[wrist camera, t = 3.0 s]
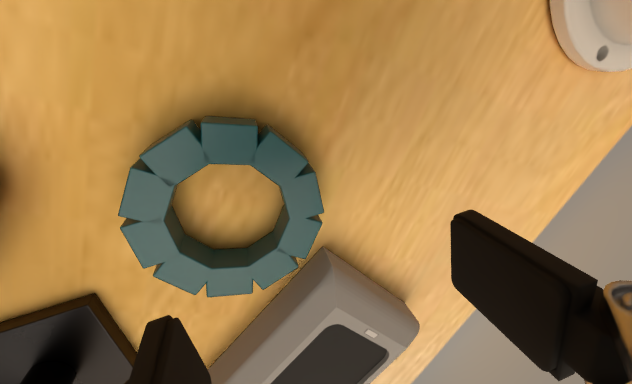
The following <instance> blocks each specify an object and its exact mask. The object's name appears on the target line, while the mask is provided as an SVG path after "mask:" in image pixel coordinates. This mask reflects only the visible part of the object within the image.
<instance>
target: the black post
mask: <svg viewBox="0 0 632 384" xmlns="http://www.w3.org/2000/svg"><path fill="white" fill-rule="evenodd" d="M136 356H137V353H136V352H135V350H134V349H133V348H132V346H131V345H130V343H129V342H128V340H127V339H126V338H125V336H124V335H123V333H122V332H121V330H120V329H119V327H118V326H117V325H116V323H115V322H114V320H113V319H112V317H111V316H110V315H109V313H108V312H107V310H106V309H105V307H104V306H103V305H102V303H101V302H100V300H99V299H98V297H97V296H96V294H91V295H88V296H85V297H82V298H78V299H75V300H72V301H69V302H66V303H62V304H59V305H56V306H53V307H50V308H46V309H43V310H40V311H37V312H34V313H30V314H27V315H24V316H21V317H18V318H15V319H11V320H8V321H5V322H2V323H0V384H124V383H125V382H126V381H127V380H129V378H130V375H131V372H132V368H133V365H134V362H135V359H136Z"/></svg>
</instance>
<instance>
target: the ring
mask: <svg viewBox="0 0 632 384" xmlns="http://www.w3.org/2000/svg"><path fill="white" fill-rule="evenodd" d="M200 125H201V130H200V129H199V127H198V126H197V125H196V124H195V122H194V121H193V120H189V121H188V122H186V123H184V124H183V125H181V126H180V127H178V128H177V129H175V130H174V131H172V132H170V133H169V134H167V135H166V136H164V137H163V138H161V139H160V140H158V141H156V142H155V143H153V144H152V145H150V146H149V147H148V148H147V149H146V150H145V151H144V152H143V153H142V154H141V155H140V156H139V157H140V159H139V160H138V161H137V162H136V163H135V164H134V165H133V166H132V167H131V168H130V171H129V175H128V179H127V182H126V186H125V190H124V194H123V198H122V202H121V206H120V209H119V213H118V216H121V217H125V218H126V220H125V221H124V223H123V224H122V225H121V227H120V229H121V231H122V232H123V234H124V236H125V238H126V239H127V241H128V243H129V245H130V246H131V248H132V250H133V251H134V253H135V255H136V257H137V258H138V260H139V262H140V264H141V265H142V267H143V268H147V267H151V266H154V265H157V266H156V269H155V271H154V274H153V276H154V277H156V278H158V279H160V280H162V281H165V282H167V283H169V284H171V285H173V286H176V287H178V288H180V289H182V290H185V291H187V292H189V293H191V294H193V295H196V294H197V293H198V292H199V291H200V289H201V288H202V287H203V286H204V285H205V284H206V291H207V297H217V296H229V295H241V294H251V293H252V292H253V280H254V281H255V282H256V283H257V284H258V285H259V286H260V287H261V289H263V290H264V289H265V288H267V287H268V286H270V285H271V284H273V283H275V282H276V281H278V280H279V279H281V278H282V277H284V276H285V275H287V274H289V273H290V272H292V271H293V270H295V269H296V268H298V263H297V260H296V257H298V258H303V259H306V257H307V255H308V253H309V251H310V249H311V247H312V244H313V242H314V240H315V238H316V236H317V234H318V232H319V230H320V227H321V225H322V221H321V219H320V217H319V215H318V214H322V213H324V209H323V205H322V200H321V195H320V191H319V186H318V182H317V177H316V173H315V171H314V170H313V168H312V167H311V166H310V165H309V163H308V160H307V159H306V157H305V156H304V155H303V153H302V152H301V151H300V150H298V149H297V148H296V147H295V146H294V145H292V144H291V143H290V142H289V141H287V140H286V139H285V138H284V137H283V136H281V135H280V134H279V133H278V132H276V131H275V130H274V129H273V128H272V127H270V126H269V125H265V126H264V128H263V129H262V130H261V131H260V133H259V134H258V126H257V123H256V120H255V119H244V118H229V117H215V116H205V117H204V118H203V120H202V122H201V124H200ZM208 164H229V165H251V166H252V167H254V168H255V169H256V170H258V171H259V172H261V173H262V174H263V175H265V176H266V177H268V178H269V179H270V180H272V181H273V182H274V183H276V184H277V185H279V188H280V191H281V195H282V198H283V202H284V206H283V209H282V211H281V213H280V216H279V218H278V220H277V223H276V225H275V228H274V230H273V231H272V232H271V233H269V234H268V235H266V236H265V237H263V238H262V239H260V240H258V241H257V242H255V243H254V244H252V245H251V246H249V247H248V248H237V249H215V250H214V249H212V248H210V247H208V246H206V245H204V244H203V243H201V242H199V241H197V240H195V239H193V238H191V237H190V236H188V235H186V234H185V233H184V231H183V229H182V226H181V224H180V222H179V220H178V218H177V216H176V214H175V212H174V209H173V207H172V202H173V198H174V195H175V192H176V189H177V185H178V184H179V183H180V182H182V181H183V180H185V179H187V178H188V177H190V176H191V175H193V174H194V173H196V172H197V171H199V170H201V169H202V168H204V167H205V166H207V165H208Z"/></svg>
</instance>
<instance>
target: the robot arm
mask: <svg viewBox="0 0 632 384" xmlns="http://www.w3.org/2000/svg"><path fill="white" fill-rule="evenodd" d="M550 10H551V17H552V24H553V28H554V31H555V34H556V36H557V39H558V42H559V44H560V46H561V47H562V49H563V50H564V52H565V54H566V55H567V56H568V57H569V58H570V59H571V60H572V61H573V62H574V63H576V64H577V65H578V66H581V67H583V68H585V69H588V70H592V71H601V72H614V71H626V70H629V69H632V0H550ZM451 279H452V283H453V285H454V287H455V288H456V289H457V290H458V291H459V292H460V293H461V294H462V295H463V296H464V297H465V298H466V299H467V300H468V301H469V302H470V303H472V304H473V305H474V306H475V307H476V308H477V309H478V310H479V311H480V312H481V313H482V314H483V315H484V316H485V317H486V318H487V319H488V320H489V321H490V322H491V323H492V324H494V325H495V326H496V327H497V328H498V329H499V330H500V331H501V332H502V333H503V334H504V335H505V336H506V337H507V338H508V339H509V340H510V341H511V342H513V344H515V345H516V346H517V347H518V348H519V349H520V350H521V351H522V352H523V353H524V354H525V355H526V356H527V357H528V358H529V359H530V360H531V361H532V362H534V363H535V364H536V365H537V366H538V367H539V368H540V369H541V370H543V371H546V372H550V373H551V374H552V375H553V376H554V377H555V378H556V379H557V380H558V381H560V380H562V379H565V378H567V377H569V376H571V375H573V374H574V373H575V372H576V373H578V374H579V375H580V376H581V377H582V378H583V379H584V381H585V384H632V281H621V280H620V281H615V282H611V283H609V284H607V285H606V286H605V288H604V290H603V289H602V288H600V287H598V286H597V281H598V280H596V279H595V278H593V277H591V276H590V275H588V274H586V273H584V272H582V271H581V270H579V269H577V268H575V267H574V266H572V265H570V264H568V263H566V262H565V261H563V260H561V259H559V258H558V257H556V256H554V255H552V254H551V253H549V252H547V251H545V250H544V249H542V248H540V247H538V246H536V245H535V244H533V243H531V242H529V241H528V240H526V239H524V238H522V237H521V236H519V235H517V234H515V233H513V232H512V231H510V230H508V229H506V228H505V227H503V226H501V225H499V224H498V223H496V222H494V221H492V220H490V219H489V218H487V217H485V216H483V215H482V214H480V213H478V212H476V211H474V210H467V211H464V212H462V213H459V214H456V215H455V216H454V218H453V220H452V221H451ZM124 384H212V382H211V377H210V374H209V372H208V370H207V368H206V366H205V365H204V363H203V361H202V359H201V357H200V356H199V354H198V352H197V350H196V348H195V347H194V345H193V343H192V341H191V339H190V338H189V336H188V334H187V332H186V330H185V329H184V327H183V325H182V323H181V321H180V320H179V318H174V319H173V318H172V317H171V316H170V315H167V316H164V317H162V318H159V319H156V320H153V321H150V322H148V323H147V325H146V328H145V331H144V334H143V337H142V340H141V343H140V346H139V350H138V353H137V356H136V359H135V362H134V365H133V368H132V372H131V375H130V378H129V380H127V381H126V382H125V383H124Z"/></svg>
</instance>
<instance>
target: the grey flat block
mask: <svg viewBox="0 0 632 384" xmlns="http://www.w3.org/2000/svg"><path fill="white" fill-rule="evenodd" d="M419 327H420V326H419V322H418V321H417V319H416V318H415V317H414V315H413V314H412V312H411V311H410V310H409V308H408V307H407V305H406V304H405V303H404V302H402V301H401V300H400V299H398V298H397V297H395V296H394V295H392V294H391V293H389V292H388V291H387V290H385V289H384V288H382V287H381V286H379V285H378V284H376V283H375V282H374V281H372V280H371V279H369V278H368V277H366V276H365V275H363V274H362V273H361V272H359V271H358V270H356V269H355V268H353V267H352V266H351V265H349V264H348V263H346V262H345V261H343V260H342V259H340V258H339V257H338V256H336V255H335V254H333V253H332V252H330V251H329V250H327V249H326V248H325V247H322V248H321V249H320V250H319V251H318V252H317V253H316V254H315V255H314V256H313V258H312V259H311V260H310V261H309V262H308V263H307V264H306V265H305V266H304V267H303V268H302V269H301V270H300V271H299V273H298V274H297V275H296V276H295V277H294V278H293V279H292V280H291V281H290V282H289V283H288V284H287V285H286V286H285V288H284V289H283V290H282V291H281V292H280V293H279V294H278V295H277V296H276V297H275V298H274V299H273V300H272V301H271V303H270V304H269V305H268V306H267V307H266V308H265V309H264V310H263V311H262V312H261V313H260V314H259V315H258V316H257V318H256V319H255V320H254V321H253V322H252V323H251V324H250V325H249V326H248V327H247V328H246V329H245V330H244V331H243V333H242V334H241V335H240V336H239V337H238V338H237V339H236V340H235V341H234V342H233V343H232V344H231V345H230V346H229V348H228V349H227V350H226V351H225V352H224V353H223V354H222V355H221V356H220V357H219V358H218V359H217V360H216V361H215V363H214V364H213V365H212V366H211V367H210V368H209V369H208V372H209V374H210V377H211V382H212V384H370V383H371V382H372V381H373V380H374V379H375V378H376V377H377V376H378V375H379V374H380V373H382V372H383V371H384V370H385V369H386V368H387V367H388V366H389V365H390V364H391V363H392V362H393V361H394V360H395V359H396V358H397V357H398V356H399V355H400V354H401V353H403V352H404V351H405V350H406V349H407V348H408V346H409V345H410V344H411V342H412V341H413V340H414V338H415V337H416V336H417V334H418V332H419Z"/></svg>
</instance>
